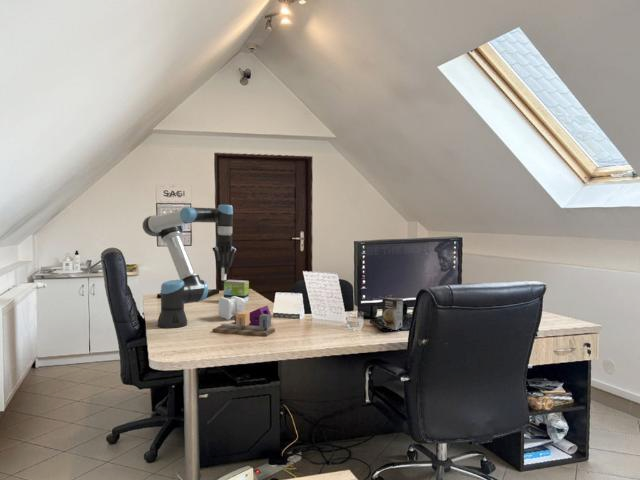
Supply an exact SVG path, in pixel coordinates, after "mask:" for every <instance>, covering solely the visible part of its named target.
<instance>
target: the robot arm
mask: <svg viewBox="0 0 640 480" xmlns="http://www.w3.org/2000/svg"><path fill="white" fill-rule="evenodd" d="M233 217H234V209H233V205H231V204H218V207H217V208H215V207H195V206H194V207H193V206H185V207H182V209H181V210H177V211H173V212H169V213H166V214H162V215H155V214H154V215H150V216H149V215H148V216H147V217H145V218H144V220H143V221H142V229H143V231H144V233H145V234H147V235H148V236H151V237H160V239H161V241H162V243H165V244H166V246H167V249H168V252H169V254H170V257H171V259H172V261H173V264H174V267H175V270H176V272H177V275H178V277H179V279H174V280H167V281H164V282H163V283H162V284H161V285H160V286H161V287H160V313H159V316H158V319H157V323H156V325H157V327H158V328H163V329H165V328H166V329H174V328H175V329H177V328H183V327H186V326H187V325H188V319H187V315H186V313H185V305H187V304H191V303H199V302H202V301H204V300H206V298H207V297H208V293H209V285H208V283H207V281H206V280H204V279H201V277H200V275H199V274H197V273H196V271H194V267H193V265H192V262H191V260H190V258H189V255H188V253H187V250H186V247H185V246H184V242H183V239H182V236H183V232H184V225H187V224H192V223H213V224H214V223H216V224H217V240H216V241H217V243H216V246H214V247H212V251H213V253H214V259H215V263H216V266H217V267H219V273H220V275H221V277H220V279H221V281H227V275H228V273H229V268H230V267H232V265H233V263H234V262H233V261H234V257H235V253H236V252H237V248H235V247H234V246H233V220H234V219H233Z"/></svg>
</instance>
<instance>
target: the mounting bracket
mask: <svg viewBox="0 0 640 480" xmlns="http://www.w3.org/2000/svg"><path fill="white" fill-rule="evenodd" d="M249 312H250V321H249V324H250V325H251V326H259V320H260V315H262V314H271V311H270V309H269V306H268V305H263V307H259V308H256V309H255V310H252V311H249ZM271 315H272V314H271ZM234 322H235V323H234V324H236V318H235V319H234Z"/></svg>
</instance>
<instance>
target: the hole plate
mask: <svg viewBox="0 0 640 480" xmlns="http://www.w3.org/2000/svg"><path fill="white" fill-rule="evenodd" d="M211 330H212V333H220V334H221V333H222V334H232V335H243V336H244V335H245V336H259V337H268V336H270V335H271V334H274V333H275V332H276V328H274V327H273V328H271V327H269V330H267V331H265V330H264V331H261V330H253V329H239V328H227V327H221V325H219V326H217V327H214V328H212V329H211Z"/></svg>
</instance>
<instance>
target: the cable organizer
mask: <svg viewBox="0 0 640 480" xmlns="http://www.w3.org/2000/svg"><path fill="white" fill-rule="evenodd" d="M245 308H246V303H245V300H244V299H243V298H239V297H236V296H232V297H231V299H227V298H224V296H221V297H219V298H218V315H219V317H220V318H222V319H225V320H226V321H230V320H231V319H232V317H236V313H239V312H246V311H245V310H246V309H245Z"/></svg>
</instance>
